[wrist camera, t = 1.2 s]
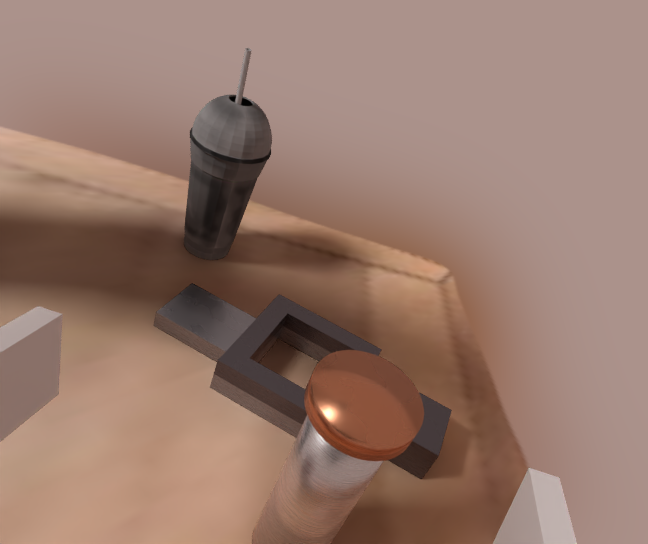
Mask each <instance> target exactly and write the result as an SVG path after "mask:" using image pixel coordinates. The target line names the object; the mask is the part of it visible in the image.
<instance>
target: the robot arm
mask: <svg viewBox="0 0 648 544" xmlns="http://www.w3.org/2000/svg"><path fill="white" fill-rule="evenodd" d="M61 332H62V314H61V313H58V312H55V311H51V310H48V309H45V308H42V307H39V306H37V307H36V308H34V309H32V310H30V311H28V312H27V313H25V314H23V315H21V316H20V317H18V318H16V319H14V320H12V321H11V322H9V323H7V324H5V325H4V326H2V327H0V442H1V441H2V440H3V439H4V438H6V437H7V436H8V435H9V434H11V433H12V432H13V431H14V430H15V429H17V428H18V427H19V426H20V425H22V424H23V423H24V422H25V421H26V420H28V419H29V418H30V417H31V416H33V415H34V414H35V413H36V412H37V411H39V410H40V409H41V408H42V407H44V406H45V405H46V404H47V403H48V402H50V401H51V400H52V399H53V398H55V397H56V396H57V395H58V393H59V373H60V353H61ZM493 544H577V541H576V538H575V534H574V531H573V527H572V523H571V519H570V515H569V512H568V508H567V504H566V500H565V497H564V493H563V490H562V485H561V482H560V478H559V477H557V476H553V475H550V474H547V473H544V472H541V471H538V470H535V469H532V468H528V470H527V473H526V475H525V477H524V479H523V481H522V483H521V485H520V487H519V489H518V491H517V494H516V496H515V498H514V500H513V502H512V504H511V506H510V508H509V510H508V512H507V515H506V517H505V519H504V521H503V523H502V525H501V527H500V529H499V531H498V533H497V536H496V538H495V540H494V542H493Z"/></svg>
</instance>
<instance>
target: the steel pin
mask: <svg viewBox="0 0 648 544" xmlns="http://www.w3.org/2000/svg"><path fill="white" fill-rule="evenodd" d="M304 403H305V409H306V412H307V416H306V418H305V420H304V423H303V425H302V427H301V429H300V431H299V433H298V435H297V438H296V440H295V442H294V444H293V446H292V448H291V451H290V453H289V455H288V457H287V459H286V461H285V463H284V466H283V468H282V470H281V472H280V474H279V476H278V478H277V481H276V483H275V485H274V487H273V489H272V491H271V493H270V496H269V498H268V500H267V502H266V504H265V506H264V509H263V511H262V513H261V515H260V517H259V519H258V521H257V524H256V526H255V528H254V531H253V535H252V544H331V542H332V541H333V539H334V538H335V536H336V535H337V533H338V531H339V530H340V528H341V527H342V525H343V524H344V522H345V520H346V519H347V517H348V516H349V514H350V513H351V511H352V509H353V508H354V506H355V505H356V503H357V502H358V500H359V498H360V497H361V495H362V494H363V492H364V491H365V489H366V487H367V486H368V484H369V483H370V481H371V480H372V478H373V477H374V475H375V473H376V472H377V470H378V469H379V467H380V466H381V464H382V462H383V461H385V460H389V459H392V458H395V457H397V456H398V455H400V454H402V453H403V452H404V451H405V450H406V449H407V448H408V446H409V445H410V443H411V442H412V440H413V439H414V437H415V436H416V434H417V433H418V431H419V430H420V428H421V426H422V423H423V419H424V407H423V402H422V399H421V396H420V394H419V392H418V390H417V389H416V387H415V385H414V384H413V383H412V381H411V380H410V379H409V378H408V377H407V376H406V375H405V374H404V373H403V372H402V371H401V370H400V369H399V368H397V367H396V366H395V365H393V364H392V363H390V362H389V361H387V360H385V359H383V358H381V357H379V356H376V355H374V354H371V353H368V352H363V351H357V350H342V351H337V352H334V353H331V354H329V355H327V356H325V357H324V358H323V359H321V360H320V362H319V363H318V364H317V365H316V367H315V369H314V371H313V373H312V376H311V378H310V380H309V382H308V385H307V387H306V390H305V395H304Z"/></svg>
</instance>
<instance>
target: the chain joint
mask: <svg viewBox="0 0 648 544" xmlns="http://www.w3.org/2000/svg"><path fill="white" fill-rule="evenodd" d="M154 326H155V327H157V328H159V329H161V330H162V331H164V332H166V333H167V334H169V335H171V336H173V337H174V338H176V339H178V340H180V341H181V342H183V343H185V344H187V345H188V346H190V347H192V348H194V349H195V350H197V351H199V352H201V353H202V354H204V355H206V356H208V357H209V358H211V359H213V360H215V361H216V362H217V365H216V368H215V372H214V375H213V379H212V382H211V385H210V388H212V389H214V390H216V391H217V392H219V393H221V394H222V395H224V396H226V397H228V398H229V399H231V400H233V401H234V402H236V403H238V404H240V405H241V406H243V407H245V408H246V409H248V410H250V411H252V412H253V413H255V414H257V415H258V416H260V417H262V418H264V419H265V420H267V421H269V422H270V423H272V424H274V425H276V426H277V427H279V428H281V429H282V430H284V431H286V432H288V433H289V434H291V435H293V436H294V437H296V438H297V435H298V433H299V431H300V429H301V427H302V425H303V423H304V420H305V418H306V416H307V412H306V409H305V403H304V395H305V389H303V388H302V387H300V386H298V385H296V384H294V383H293V382H291V381H289V380H287V379H286V378H284V377H282V376H280V375H279V374H277V373H275V372H273V371H272V370H270V369H268V368H266V367H264V366H263V365H261V364H259V363H258V362H259V361H260V360H261V359H262V358H263V356H264V355H265V354H266V353H267V351H268V350H269V349H270V348H271V347H272V345H273V344H274V343H275V342H276V340H277V339H278V338H279V339H280V340H282V341H284V342H286V343H288V344H289V345H291V346H293V347H295V348H297V349H298V350H300V351H302V352H304V353H306V354H307V355H309V356H311V357H313V358H315V359H316V360H318V361H320V360H321V359H323V358H324V357H325V356H327V355H329V354H331V353H334V352H337V351H342V350H357V351H363V352H368V353H371V354H374V355H376V356H378V355H379V353H380V351H381V349H380V348H378V347H376V346H374V345H372V344H370V343H368V342H367V341H365V340H363V339H361V338H359V337H357V336H355V335H354V334H352V333H350V332H348V331H346V330H344V329H343V328H341V327H339V326H337V325H335V324H333V323H331V322H330V321H328V320H326V319H324V318H322V317H320V316H318V315H317V314H315V313H313V312H311V311H309V310H307V309H306V308H304V307H302V306H300V305H298V304H296V303H294V302H293V301H291V300H289V299H287V298H285V297H283V296H282V295H280V294H279V295H278V296H277V297H276V298H275V299H274V300H273V301H272V302H271V303H270V304H269V306H268V307H267V308H266V309H265V310H264V311H263V312H262V313H261V314H260V315H259V316H258V317H257V318H254V317H253V316H251V315H249V314H247V313H245V312H244V311H242V310H240V309H238V308H236V307H234V306H233V305H231V304H229V303H227V302H225V301H224V300H222V299H220V298H218V297H216V296H215V295H213V294H211V293H209V292H207V291H206V290H204V289H202V288H200V287H198V286H196V285H195V284H193V283H192V284H191V285H189V286H188V287H187V288H186V289H184V290H183V291H182V292H181V293H179V294H178V295H177V296H176V297H174V298H173V299H172V300H171V301H169V302H168V303H167V304H166V305H164V306H163V307H162V308H161V309H159V310H158V311H157V312H156V316H155V322H154ZM419 394H420V396H421V399H422V402H423V407H424V419H423V423H422V426H421V428H420V430H419V431H418V433H417V434H416V436H415V437H414V439H413V440H412V442H411V443H410V445H409V446H408V448H407V449H406V450H405V451H404V452H403V453H402V454H400V455H398V456H397V457H395V458H392V459H389V461H391V462H392V463H394V464H396V465H397V466H399V467H401V468H403V469H404V470H406V471H408V472H410V473H411V474H413V475H415V476H417V477H418V478H420V479H422V478H423V477H424V475H425V474H426V472H427V471H428V470H429V468H430V467H431V466H432V464H433V463H434V461H435V460H436V459H437V457H438V456H439V453H440V449H441V446H442V442H443V439H444V435H445V432H446V428H447V425H448V421H449V418H450V414H451V411H452V410H450V409H449V408H447V407H445V406H443V405H441V404H439V403H438V402H436V401H434V400H432V399H430V398H428V397H427V396H425V395H423V394H421V393H419Z"/></svg>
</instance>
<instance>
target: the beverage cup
mask: <svg viewBox="0 0 648 544" xmlns="http://www.w3.org/2000/svg"><path fill="white" fill-rule="evenodd" d="M250 55H251V49H249V48H246V49H245V53H244V59H243V64H242V69H241V74H240V80H239V85H238V90H237V95H225V96H221V97H217V98H215V99H213V100H211V101H210V102H209V103H207V104H206V105H205V107H204V108H203V109H202V110H201V111H200V112H199V114H198V115H197V117H196V119H195V121H194V124H193V127H192V128H191V130H190V138H191V141H190V143H191V168H190V178H189V188H188V198H187V208H186V218H185V238H184V246H185V248H186V249H187V250H188V251H189V252H190V253H191V254H193V255H195V256H196V257H199V258H202V259H208V260H217V259H221V258H224V257H225V256H226V255H227V254H228V252H229V249H230V246H231V244H232V243H233V240H234V238H235V236H236V233H237V230H238V228H239V225H240V222H241V220H242V217H243V215H244V212H245V209H246V207H247V204H248V201H249V199H250V196H251V193H252V191H253V188H254V186H255V183H256V180H257V178H258V176H259V175H260V173H261V171H262V169H263V167H264V165H265V163H266V161H267V160H268V159H269V157H270V155H271V144H272V135H271V129H270V125H269V122H268V119H267V117H266V115H265V114H264V112H263V111H262V109H261V108H260V107H259V106H258V105H257V104H256V103H254V102H253V101H251V100H250V99H247V98H246V97H243V91H244V86H245V81H246V75H247V70H248V65H249V59H250Z"/></svg>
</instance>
